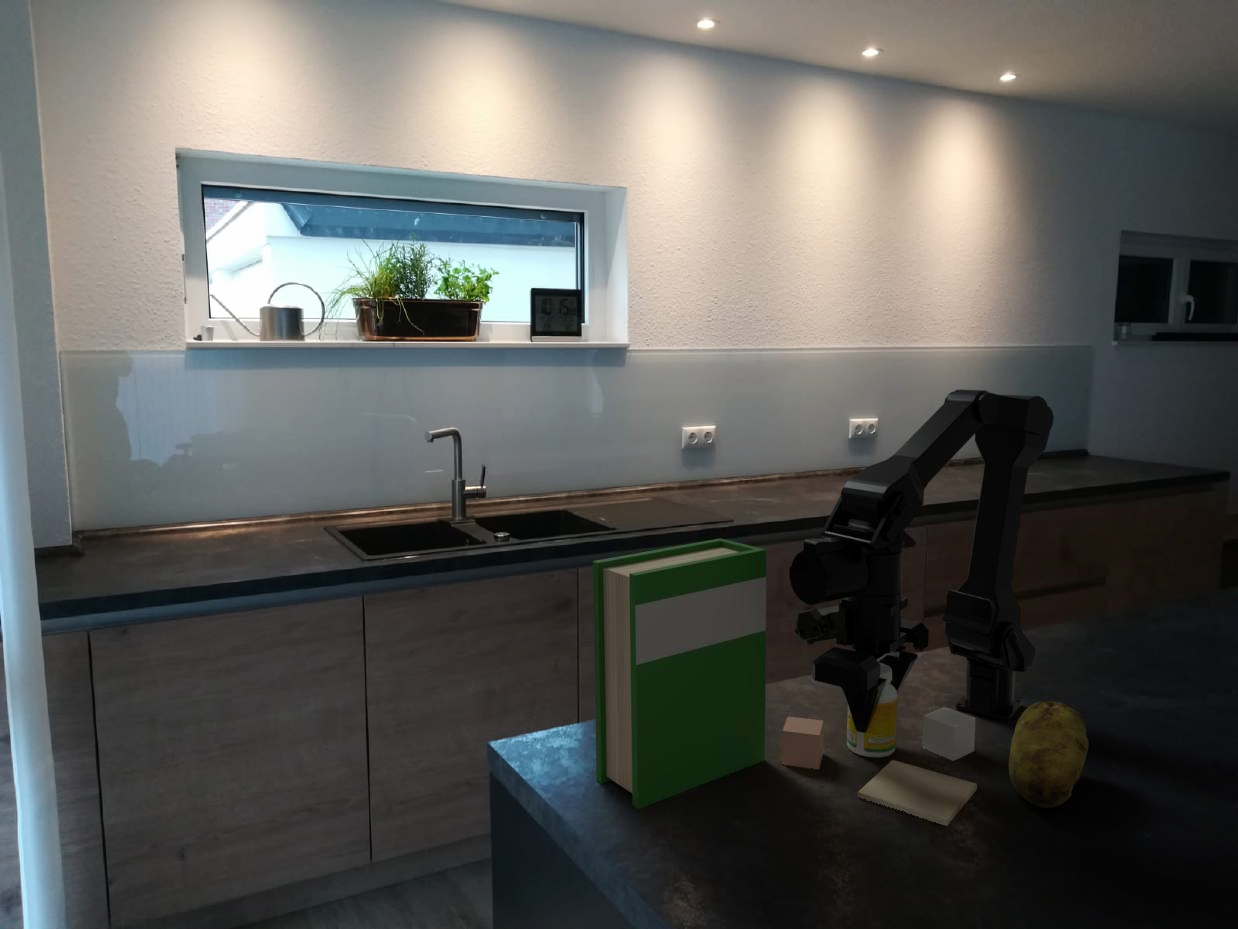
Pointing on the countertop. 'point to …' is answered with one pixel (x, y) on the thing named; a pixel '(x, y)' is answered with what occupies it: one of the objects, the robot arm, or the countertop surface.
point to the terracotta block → (802, 742)
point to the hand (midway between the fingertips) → (871, 723)
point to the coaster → (918, 792)
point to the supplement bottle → (877, 724)
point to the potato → (1048, 753)
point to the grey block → (948, 733)
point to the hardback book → (679, 666)
